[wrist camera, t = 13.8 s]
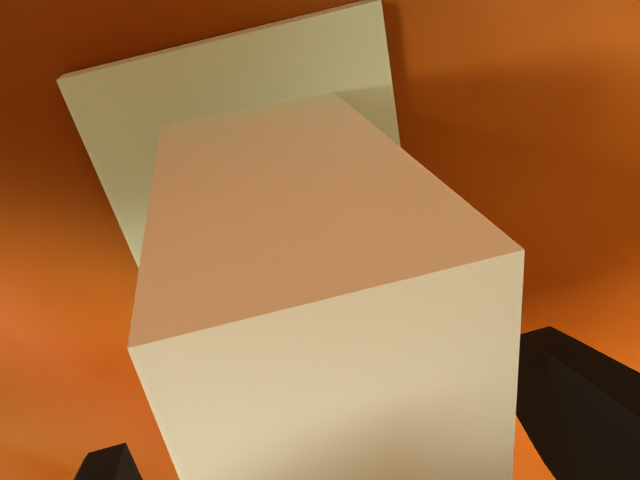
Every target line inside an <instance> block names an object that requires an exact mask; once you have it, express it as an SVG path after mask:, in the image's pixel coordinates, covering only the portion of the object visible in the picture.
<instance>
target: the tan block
mask: <svg viewBox="0 0 640 480" xmlns="http://www.w3.org/2000/svg"><path fill="white" fill-rule="evenodd" d="M524 256H525V249H523V248H522V247H521V246H520V245H519V244H517V243H516V242H515V241H514V240H513V239H511V238H510V237H509V236H508V235H506V234H505V233H504V232H503V231H502V230H500V229H499V228H498V227H497V226H496V225H494V224H493V223H492V222H491V221H489V220H488V219H487V218H486V217H485V216H483V215H482V214H481V213H480V212H479V211H477V210H476V209H475V208H474V207H472V206H471V205H470V204H469V203H468V202H466V201H465V200H464V199H463V198H462V197H460V196H459V195H458V194H457V193H456V192H454V191H453V190H452V189H451V188H449V187H448V186H447V185H446V184H445V183H443V182H442V181H441V180H440V179H439V178H437V177H436V176H435V175H434V174H432V173H431V172H430V171H429V170H428V169H426V168H425V167H424V166H423V165H422V164H420V163H419V162H418V161H417V160H415V159H414V158H413V157H412V156H411V155H409V154H408V153H407V152H406V151H405V150H403V149H402V148H401V147H400V146H399V145H397V144H396V143H395V142H394V141H392V140H391V139H390V138H389V137H388V136H386V135H385V134H384V133H383V132H382V131H380V130H379V129H378V128H377V127H375V126H374V125H373V124H372V123H371V122H369V121H368V120H367V119H366V118H365V117H363V116H362V115H361V114H360V113H358V112H357V111H356V110H355V109H354V108H352V107H351V106H350V105H349V104H348V103H346V102H345V101H344V100H343V99H341V98H340V97H339V96H338V95H337V94H335V93H334V92H329V93H324V94H319V95H314V96H308V97H303V98H298V99H293V100H288V101H283V102H278V103H273V104H267V105H262V106H257V107H252V108H247V109H242V110H237V111H232V112H226V113H221V114H216V115H211V116H206V117H201V118H196V119H191V120H186V121H180V122H175V123H170V124H165V125H160V130H159V136H158V143H157V150H156V157H155V163H154V170H153V177H152V184H151V191H150V197H149V204H148V211H147V218H146V225H145V231H144V238H143V245H142V252H141V258H140V265H139V272H138V279H137V286H136V292H135V299H134V306H133V313H132V319H131V326H130V333H129V340H128V347H127V349H128V352H129V354H130V357H131V359H132V362H133V364H134V367H135V369H136V372H137V374H138V377H139V379H140V382H141V384H142V387H143V389H144V392H145V394H146V397H147V399H148V402H149V404H150V407H151V409H152V412H153V414H154V417H155V419H156V421H157V424H158V426H159V429H160V431H161V434H162V436H163V439H164V441H165V444H166V446H167V449H168V451H169V454H170V456H171V459H172V461H173V464H174V466H175V469H176V471H177V474H178V476H179V479H180V480H512V474H513V456H514V438H515V420H516V402H517V383H518V365H519V347H520V329H521V310H522V292H523V274H524Z"/></svg>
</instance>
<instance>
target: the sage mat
mask: <svg viewBox="0 0 640 480" xmlns="http://www.w3.org/2000/svg"><path fill="white" fill-rule="evenodd" d="M56 82H57V84H58V86H59V88H60V91H61V93H62V95H63V98H64V100H65V102H66V104H67V107H68V109H69V111H70V113H71V116H72V118H73V120H74V123H75V125H76V127H77V129H78V132H79V134H80V136H81V139H82V141H83V143H84V145H85V148H86V150H87V152H88V155H89V157H90V159H91V161H92V164H93V166H94V168H95V170H96V173H97V175H98V177H99V180H100V182H101V184H102V186H103V189H104V191H105V193H106V196H107V198H108V200H109V202H110V205H111V207H112V209H113V211H114V214H115V216H116V218H117V221H118V223H119V225H120V227H121V230H122V232H123V234H124V237H125V239H126V241H127V243H128V246H129V248H130V250H131V252H132V255H133V257H134V259H135V262H136V264H137V266H138V268H139V265H140V258H141V252H142V245H143V238H144V231H145V225H146V218H147V211H148V204H149V197H150V191H151V184H152V177H153V170H154V163H155V157H156V150H157V143H158V136H159V130H160V125H165V124H170V123H175V122H180V121H186V120H191V119H196V118H201V117H206V116H211V115H216V114H221V113H226V112H232V111H237V110H242V109H247V108H252V107H257V106H262V105H267V104H273V103H278V102H283V101H288V100H293V99H298V98H303V97H308V96H314V95H319V94H324V93H329V92H334V93H335V94H337V95H338V96H339V97H340V98H341V99H343V100H344V101H345V102H346V103H348V104H349V105H350V106H351V107H352V108H354V109H355V110H356V111H357V112H358V113H360V114H361V115H362V116H363V117H365V118H366V119H367V120H368V121H369V122H371V123H372V124H373V125H374V126H375V127H377V128H378V129H379V130H380V131H382V132H383V133H384V134H385V135H386V136H388V137H389V138H390V139H391V140H392V141H394V142H395V143H396V144H397V145H399V146H400V147H401V145H400V138H399V130H398V122H397V115H396V107H395V100H394V92H393V85H392V77H391V70H390V62H389V54H388V47H387V39H386V32H385V24H384V17H383V9H382V1H381V0H362V1H358V2H354V3H350V4H346V5H342V6H338V7H334V8H330V9H326V10H322V11H318V12H314V13H309V14H305V15H301V16H297V17H293V18H289V19H285V20H281V21H277V22H273V23H269V24H265V25H261V26H257V27H253V28H249V29H245V30H241V31H236V32H232V33H228V34H224V35H220V36H216V37H212V38H208V39H204V40H200V41H196V42H192V43H188V44H184V45H180V46H176V47H172V48H168V49H164V50H159V51H155V52H151V53H147V54H143V55H139V56H135V57H131V58H127V59H123V60H119V61H115V62H111V63H107V64H103V65H99V66H95V67H91V68H86V69H82V70H78V71H74V72H70V73H66V74H63V75H61V76H60V77H59V78H58V79H57V80H56Z"/></svg>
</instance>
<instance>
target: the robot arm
mask: <svg viewBox="0 0 640 480" xmlns="http://www.w3.org/2000/svg"><path fill="white" fill-rule="evenodd" d="M516 415H517V417H518V419H519V421H520V422H521V424H522V426H523V428H524V429H525V431H526V433H527V435H528V437H529V438H530V440H531V442H532V443H533V445H534V447H535V448H536V450H537V452H538V453H539V455H540V457H541V458H542V460H543V462H544V463H545V465H546V466H547V468H548V469H549V470H550V472H551V473H552V474H553V476H554V477H555V478H556V480H640V373H639V372H637V371H635V370H633V369H631V368H629V367H627V366H625V365H624V364H622V363H620V362H618V361H616V360H614V359H612V358H610V357H608V356H606V355H605V354H603V353H601V352H599V351H597V350H595V349H593V348H591V347H589V346H588V345H586V344H584V343H582V342H580V341H578V340H576V339H574V338H572V337H570V336H568V335H566V334H565V333H563V332H561V331H559V330H556V329H554V328H552V327H550V326H549V327H545V328H542V329H538V330H535V331H531V332H527V333H524V334H520V347H519V365H518V383H517V402H516ZM74 480H142V478H141V475H140V473H139V471H138V469H137V467H136V464H135V462H134V460H133V458H132V455H131V453H130V451H129V449H128V447H127V444H126V443H123V444H119V445H116V446H112V447H108V448H105V449H101V450H97V451H94V452H90V453H88V454H87V456H86V457H85V459H84V460H83V462H82V464H81V466H80V468H79V470H78V472H77V474H76V476H75V478H74Z"/></svg>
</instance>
